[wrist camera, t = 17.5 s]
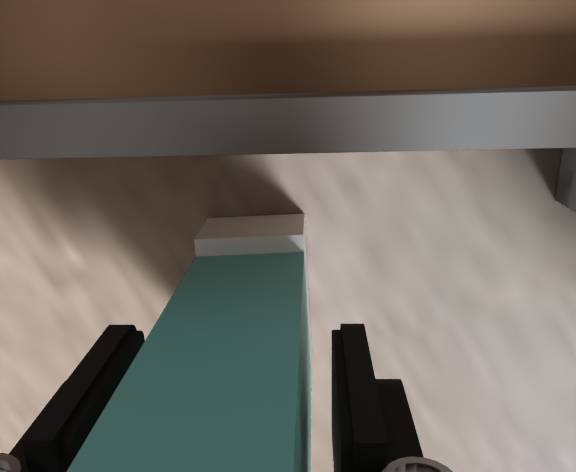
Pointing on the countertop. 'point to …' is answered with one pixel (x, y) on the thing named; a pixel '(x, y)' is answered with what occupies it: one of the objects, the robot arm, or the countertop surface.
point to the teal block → (220, 363)
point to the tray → (567, 179)
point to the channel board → (284, 76)
